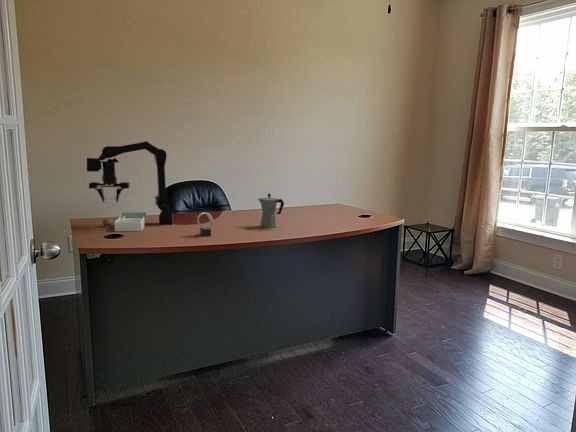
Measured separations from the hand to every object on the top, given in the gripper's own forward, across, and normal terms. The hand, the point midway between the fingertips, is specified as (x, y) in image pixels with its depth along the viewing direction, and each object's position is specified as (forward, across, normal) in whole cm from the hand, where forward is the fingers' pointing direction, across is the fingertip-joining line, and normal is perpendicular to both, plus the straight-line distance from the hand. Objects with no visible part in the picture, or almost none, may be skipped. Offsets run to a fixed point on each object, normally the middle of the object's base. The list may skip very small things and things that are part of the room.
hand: (110, 202), depth 230 cm
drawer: (+11, -10, -3) cm, 15 cm away
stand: (+12, +2, +1) cm, 13 cm away
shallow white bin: (+12, -10, +6) cm, 17 cm away
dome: (0, 0, 0) cm, 0 cm away
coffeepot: (+14, -82, +4) cm, 83 cm away
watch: (+13, -47, +24) cm, 54 cm away
